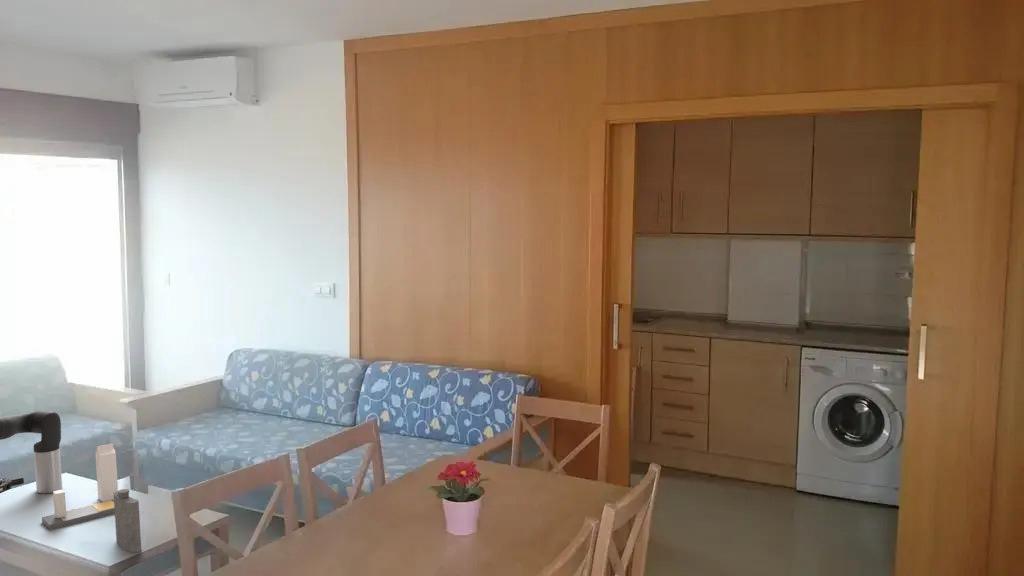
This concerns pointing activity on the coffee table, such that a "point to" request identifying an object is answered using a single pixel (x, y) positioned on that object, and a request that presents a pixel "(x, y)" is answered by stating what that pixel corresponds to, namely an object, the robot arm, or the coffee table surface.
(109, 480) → the milk
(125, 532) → the hip flask
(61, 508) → the block
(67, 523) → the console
